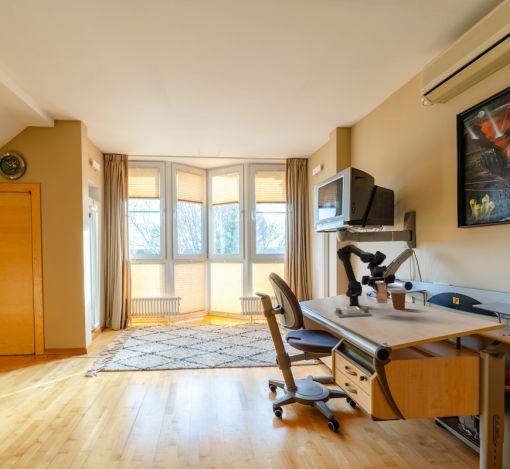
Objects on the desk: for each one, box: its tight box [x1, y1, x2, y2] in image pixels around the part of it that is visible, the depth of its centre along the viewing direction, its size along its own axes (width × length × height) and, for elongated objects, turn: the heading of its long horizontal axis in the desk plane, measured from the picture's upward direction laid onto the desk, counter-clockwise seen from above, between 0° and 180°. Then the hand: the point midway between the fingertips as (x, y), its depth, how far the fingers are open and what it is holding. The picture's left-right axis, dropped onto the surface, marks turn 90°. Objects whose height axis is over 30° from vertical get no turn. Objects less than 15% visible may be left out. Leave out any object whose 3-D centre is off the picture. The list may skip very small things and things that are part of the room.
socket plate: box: [334, 306, 372, 318], centre depth 207 cm, size 14×18×4 cm
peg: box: [375, 282, 388, 304], centre depth 203 cm, size 4×4×11 cm
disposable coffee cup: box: [389, 287, 407, 310], centre depth 216 cm, size 10×10×12 cm
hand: (382, 291), depth 201 cm, fingers closed on peg, 4 cm apart
